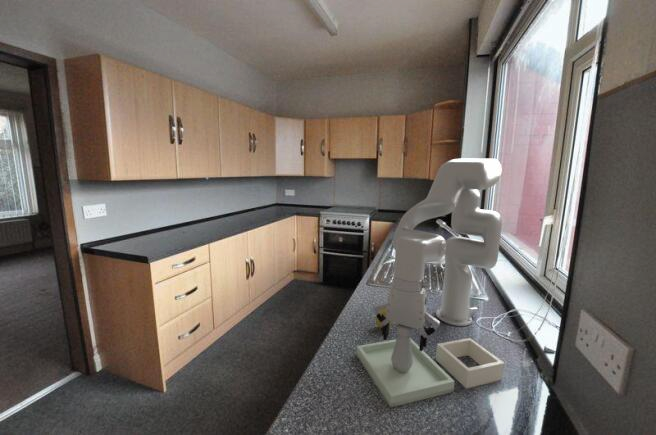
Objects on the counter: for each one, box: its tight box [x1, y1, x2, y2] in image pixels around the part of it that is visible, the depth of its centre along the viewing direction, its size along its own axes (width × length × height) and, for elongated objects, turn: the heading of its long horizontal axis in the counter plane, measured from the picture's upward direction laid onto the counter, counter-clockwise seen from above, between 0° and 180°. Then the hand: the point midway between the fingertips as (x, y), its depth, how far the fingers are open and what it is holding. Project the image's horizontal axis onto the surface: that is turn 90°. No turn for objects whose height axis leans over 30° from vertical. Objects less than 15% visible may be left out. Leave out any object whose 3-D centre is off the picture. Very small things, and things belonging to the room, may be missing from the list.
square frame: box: [435, 337, 505, 389], centre depth 81 cm, size 12×12×5 cm
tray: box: [356, 338, 456, 408], centre depth 79 cm, size 18×20×3 cm
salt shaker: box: [391, 323, 414, 373], centre depth 78 cm, size 6×6×13 cm
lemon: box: [375, 309, 393, 329], centre depth 100 cm, size 6×6×8 cm
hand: (403, 342), depth 78 cm, fingers open, 9 cm apart
